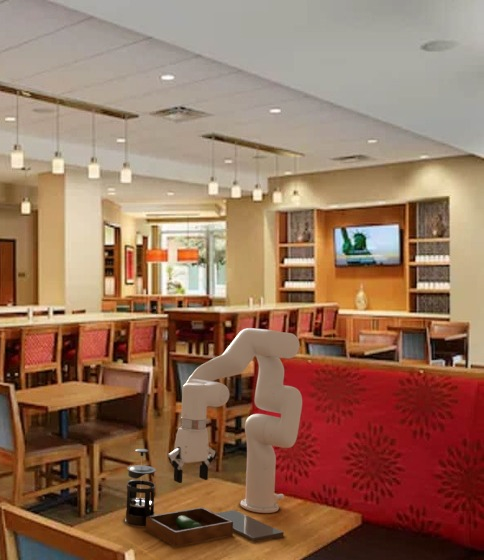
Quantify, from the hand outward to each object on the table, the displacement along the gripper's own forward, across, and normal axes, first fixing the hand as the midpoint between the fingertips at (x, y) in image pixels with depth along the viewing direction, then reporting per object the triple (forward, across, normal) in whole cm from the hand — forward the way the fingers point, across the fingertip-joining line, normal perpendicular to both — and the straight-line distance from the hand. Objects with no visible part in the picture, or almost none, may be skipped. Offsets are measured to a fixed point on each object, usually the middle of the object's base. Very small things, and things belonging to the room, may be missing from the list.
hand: (190, 480), depth 220 cm
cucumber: (+16, 0, 0) cm, 16 cm away
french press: (+16, +8, -15) cm, 23 cm away
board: (+16, -19, +3) cm, 25 cm away
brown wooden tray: (+16, 0, 0) cm, 16 cm away
